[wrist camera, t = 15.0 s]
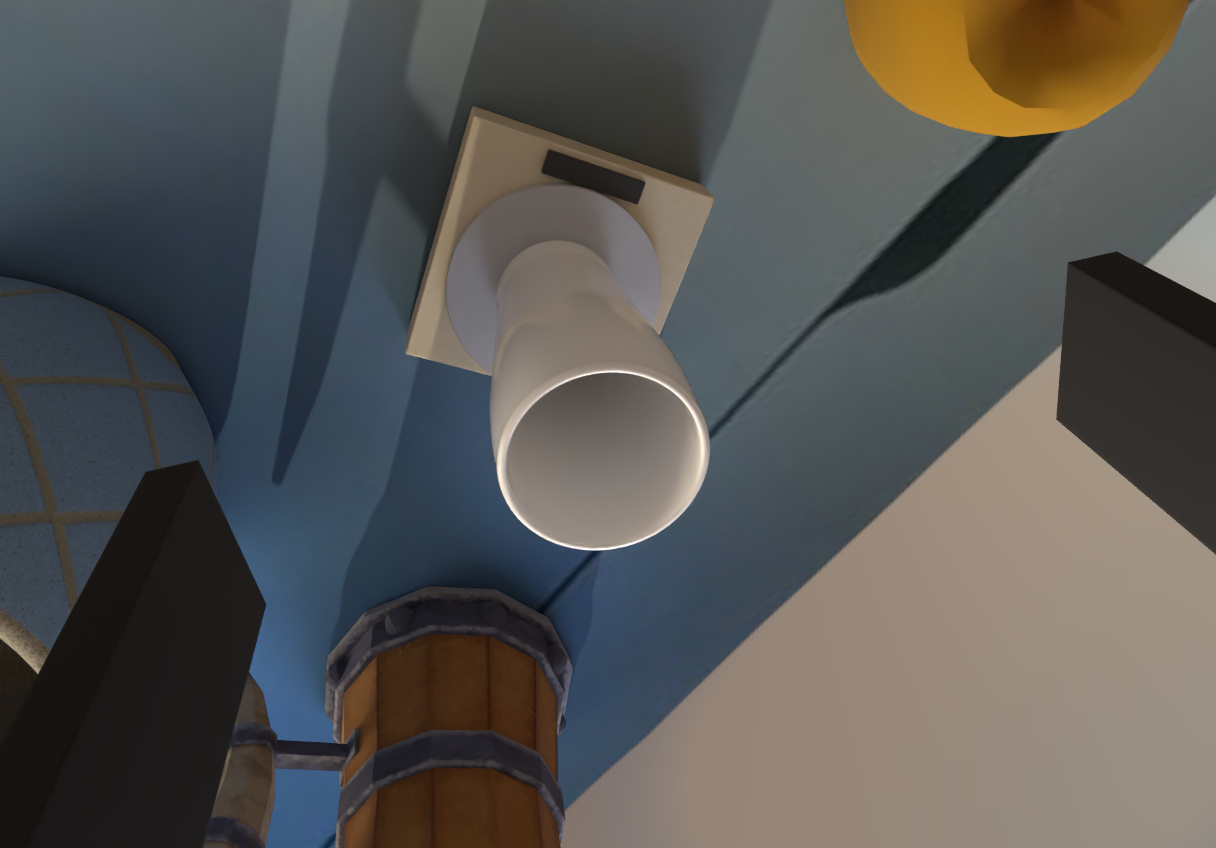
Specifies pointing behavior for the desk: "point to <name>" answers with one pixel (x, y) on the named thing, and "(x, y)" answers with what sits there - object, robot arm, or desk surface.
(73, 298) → the planter
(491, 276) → the scale
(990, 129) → the apple
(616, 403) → the drinking glass
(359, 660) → the mug
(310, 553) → the desk surface
